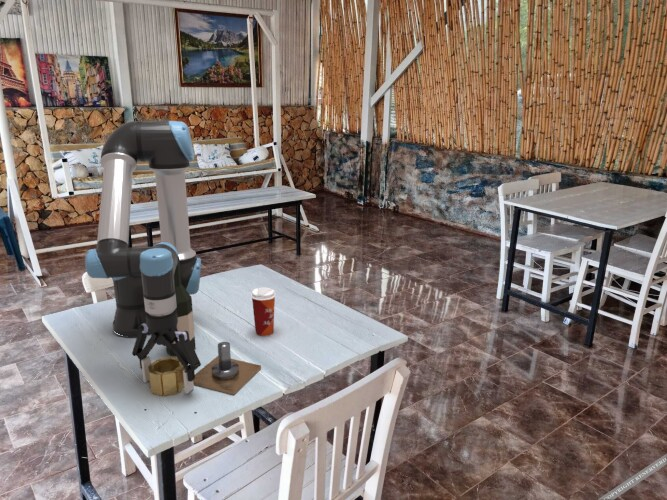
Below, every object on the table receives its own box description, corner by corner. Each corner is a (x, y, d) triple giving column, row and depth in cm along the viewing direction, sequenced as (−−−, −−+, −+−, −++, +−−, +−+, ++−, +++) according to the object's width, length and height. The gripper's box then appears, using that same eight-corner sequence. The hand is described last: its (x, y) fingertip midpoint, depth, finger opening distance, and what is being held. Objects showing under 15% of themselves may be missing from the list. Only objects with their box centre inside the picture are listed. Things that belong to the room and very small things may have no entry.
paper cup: (272, 338, 163) (271, 297, 159) (248, 336, 165) (247, 295, 160) (279, 327, 170) (278, 287, 166) (257, 325, 172) (255, 285, 167)
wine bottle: (180, 359, 150) (171, 261, 141) (160, 351, 155) (150, 255, 145) (201, 347, 157) (194, 252, 148) (182, 340, 161) (173, 247, 152)
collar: (143, 390, 135) (141, 370, 133) (165, 374, 143) (163, 354, 141) (171, 398, 132) (169, 377, 130) (192, 381, 140) (191, 361, 138)
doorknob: (188, 383, 139) (185, 351, 136) (218, 358, 151) (216, 328, 148) (233, 395, 134) (232, 362, 131) (261, 368, 146) (260, 338, 143)
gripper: (111, 308, 132) (121, 382, 138) (193, 325, 123) (199, 403, 130) (132, 297, 139) (141, 368, 145) (211, 312, 130) (216, 388, 136)
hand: (168, 385), depth 137 cm, fingers open, 12 cm apart
